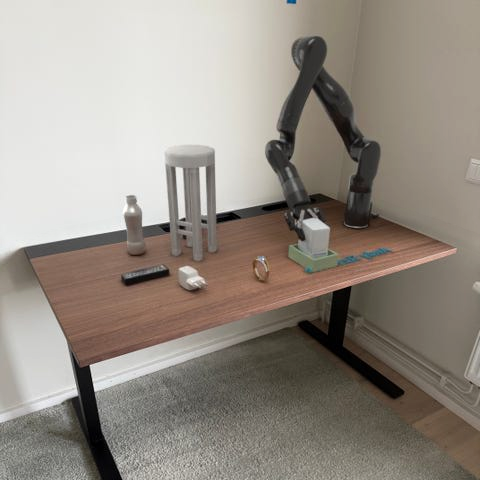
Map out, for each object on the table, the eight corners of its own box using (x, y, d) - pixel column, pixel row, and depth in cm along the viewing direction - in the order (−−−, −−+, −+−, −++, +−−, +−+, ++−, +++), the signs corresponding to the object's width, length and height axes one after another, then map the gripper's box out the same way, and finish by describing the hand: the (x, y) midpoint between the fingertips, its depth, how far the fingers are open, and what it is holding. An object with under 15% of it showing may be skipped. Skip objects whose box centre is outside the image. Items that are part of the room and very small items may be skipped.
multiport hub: (121, 280, 148) (120, 273, 147) (164, 270, 155) (163, 263, 153) (126, 286, 145) (125, 279, 144) (169, 275, 151) (169, 268, 150)
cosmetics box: (296, 248, 163) (299, 218, 158) (313, 246, 165) (316, 217, 159) (309, 260, 154) (313, 229, 149) (327, 258, 156) (331, 227, 151)
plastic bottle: (150, 251, 168) (144, 195, 158) (139, 258, 163) (132, 200, 153) (135, 248, 170) (128, 192, 160) (123, 255, 165) (116, 198, 155)
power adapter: (211, 294, 141) (210, 276, 138) (197, 299, 138) (197, 280, 135) (190, 281, 148) (189, 263, 145) (177, 285, 145) (175, 268, 142)
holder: (312, 251, 169) (313, 240, 167) (337, 266, 158) (339, 254, 156) (288, 257, 164) (288, 245, 162) (312, 272, 154) (313, 260, 152)
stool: (189, 241, 176) (184, 142, 158) (224, 249, 170) (223, 147, 152) (163, 255, 165) (154, 150, 147) (200, 265, 158) (196, 156, 140)
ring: (270, 283, 147) (271, 259, 143) (262, 285, 145) (262, 261, 141) (258, 275, 152) (259, 251, 148) (250, 277, 151) (250, 253, 146)
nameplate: (393, 253, 168) (383, 248, 172) (393, 251, 168) (383, 246, 171) (310, 275, 152) (301, 269, 156) (310, 273, 152) (301, 267, 156)
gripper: (282, 191, 154) (300, 237, 151) (318, 185, 160) (336, 229, 157) (273, 202, 161) (290, 247, 158) (307, 197, 167) (324, 239, 164)
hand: (313, 238), depth 158 cm, fingers closed on cosmetics box, 7 cm apart
